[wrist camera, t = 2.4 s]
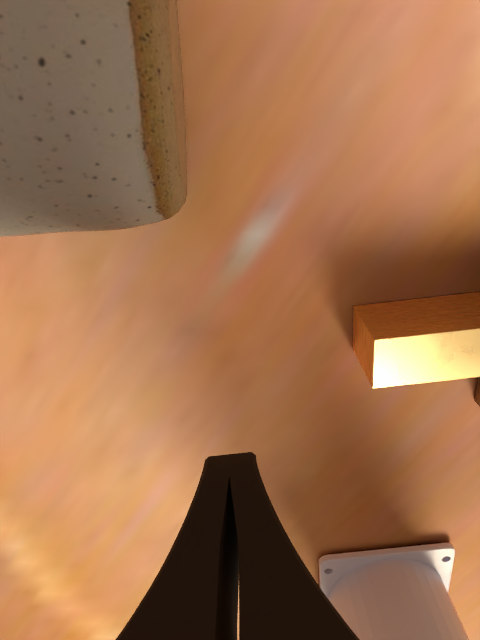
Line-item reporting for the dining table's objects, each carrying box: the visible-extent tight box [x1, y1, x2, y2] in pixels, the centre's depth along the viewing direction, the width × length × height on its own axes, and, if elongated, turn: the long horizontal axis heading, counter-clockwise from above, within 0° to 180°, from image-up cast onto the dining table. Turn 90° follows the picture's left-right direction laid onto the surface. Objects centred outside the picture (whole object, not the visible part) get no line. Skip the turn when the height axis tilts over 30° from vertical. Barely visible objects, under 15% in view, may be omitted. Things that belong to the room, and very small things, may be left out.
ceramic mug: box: [0, 0, 187, 237], centre depth 11 cm, size 11×8×8 cm
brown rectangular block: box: [353, 292, 480, 388], centre depth 18 cm, size 2×7×3 cm, turn 96°
